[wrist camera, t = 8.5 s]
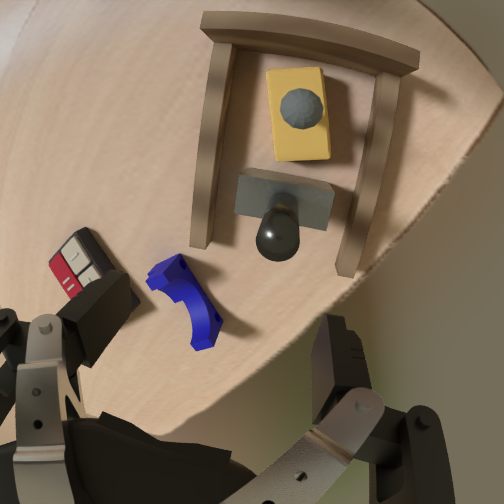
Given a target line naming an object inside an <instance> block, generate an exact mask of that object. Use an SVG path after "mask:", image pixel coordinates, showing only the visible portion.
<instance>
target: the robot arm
mask: <svg viewBox="0 0 504 504" xmlns="http://www.w3.org/2000/svg"><path fill="white" fill-rule="evenodd" d="M131 309H132V300H131V291H130V281H129V276H128V274H127V273H124V272H120V271H116V270H109V271H108V272H107V273H106V274H105V275H104V276H103V277H102V278H101V279H100V278H98V279H96V280H94V281H92V282H90V283H88V284H87V285H86V286H85V287H84V288H83V289H82V290H81V291H80V292H78V293H77V294H76V297H75V296H74V297H73V298H72V299H71V300H70V301H69V302H68V303H67V304H66V305H65V306H64V307H63V308H62V309H61V310H60V311H59V312H58V313H57V314H56V315H53V314H44V315H40V316H38V317H36V318H35V319H34V320H33V321H32V322H24V321H19V320H18V318H17V315H16V312H15V311H14V310H12V309H9V308H4V309H1V310H0V354H1V352H2V353H3V355H4V356H5V358H6V361H5V363H4V364H3V365H2V367H1V368H0V426H1V424H2V423H3V421H4V419H5V418H6V416H7V414H8V413H9V411H10V410H11V408H12V407H13V405H14V404H16V405H15V412H16V413H15V417H16V441H13V442H10V443H7V444H4V445H1V446H0V504H315V503H316V502H317V501H318V500H319V499H320V498H321V496H322V495H323V494H324V493H325V492H326V491H327V490H328V489H329V488H330V487H331V485H332V484H333V483H334V482H335V481H336V480H337V478H338V477H339V476H340V475H341V474H342V473H343V471H344V470H345V469H346V468H347V466H348V465H349V464H350V462H351V461H352V459H353V458H355V459H358V460H362V461H365V462H368V463H369V482H370V483H369V486H370V487H369V497H370V498H369V504H455V496H454V488H453V481H452V475H451V469H450V463H449V458H448V453H447V449H446V443H445V439H444V434H443V430H442V426H441V422H440V419H439V417H438V415H437V414H436V412H435V411H433V410H432V409H431V408H429V407H426V406H422V405H418V406H414V407H412V408H411V409H410V410H409V411H408V412H407V413H405V412H401V411H398V410H395V409H391V408H389V407H386V406H385V405H384V402H383V400H382V398H381V397H380V395H378V394H377V393H376V392H375V391H373V390H372V387H371V382H370V378H369V373H368V368H367V364H366V360H365V355H364V352H363V346H362V342H361V339H360V338H359V337H358V335H357V334H356V333H355V332H354V331H352V330H347V329H346V324H345V319H344V317H343V316H337V315H331V314H324V316H323V318H322V321H321V324H320V327H319V329H318V332H317V335H316V338H315V341H314V344H313V348H312V354H311V364H312V365H311V366H312V424H316V425H317V426H316V427H315V428H314V429H313V430H309V431H308V432H307V433H305V434H304V435H303V436H302V437H301V438H300V439H299V440H298V441H297V442H296V443H295V444H294V445H293V446H292V447H290V448H289V449H288V450H287V451H286V452H285V453H284V454H283V455H282V456H280V457H279V458H278V459H277V460H276V461H275V462H273V464H271V465H270V466H269V467H267V468H266V469H265V470H264V471H263V472H261V473H260V474H259V475H258V476H257V475H256V474H255V473H253V472H252V471H251V470H249V469H248V468H247V467H245V466H244V465H242V464H240V463H238V462H236V461H234V460H232V459H230V457H231V453H232V451H228V450H223V449H219V448H214V447H209V446H205V445H201V444H197V443H196V444H195V443H176V442H164V441H160V440H157V439H156V438H154V437H152V436H151V435H149V434H148V433H146V432H144V431H143V430H141V429H140V428H138V427H137V426H135V425H134V424H132V423H130V422H128V421H125V420H123V419H120V418H118V417H115V416H113V415H110V414H108V413H106V412H102V413H101V415H100V417H99V419H98V418H88V417H87V415H86V411H85V408H84V402H83V395H82V389H81V381H80V373H79V370H78V368H79V366H80V365H81V364H82V365H84V366H87V367H89V368H92V366H93V365H94V364H95V362H96V361H97V359H98V358H99V357H100V355H101V354H102V352H103V351H104V350H105V348H106V347H107V346H108V344H109V343H110V341H111V340H112V339H113V337H114V336H115V335H116V333H117V332H118V331H119V329H120V328H121V327H122V325H123V324H124V323H125V321H126V320H127V319H128V317H129V315H130V313H131ZM15 402H16V403H15Z"/></svg>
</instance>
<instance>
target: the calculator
mask: <svg viewBox="0 0 504 504" xmlns="http://www.w3.org/2000/svg"><path fill="white" fill-rule="evenodd" d="M49 267H50V269H51V270H52V272H53V273H54V275H55V277H56V278H57V280H58V281H59V283H60V284H61V286H62V287H63V289H64V290H65V292H66V293H67V295H68V296H69V298H70V299H72V298H73V297H74V296H75V297H76V294H77V293H78V292H80V291H81V290H82V289H83V288H84V287H85V286H86V285H87V284H88V283H90V282H92V281H94V280H96V279H98V278H100V279H101V278H102V277H103V276H104V275H105V274H106V273H107V272H108V271H109V270H116V269H115V268H114V266H113V265H112V263H111V262H110V261H109V259H108V258H107V256H106V255H105V253H104V252H103V250H102V249H101V247H100V246H99V245H98V243H97V242H96V240H95V239H94V237H93V236H92V234H91V233H90V231H89V230H88V228H87V227H84V228H82V229H80V230H78V231H76V232H74V233H73V234H72V236H71V237H70V238H69V239H68V240H67V241H66V242H65V243H64V244H63V246H62V247H61V248H60V249H59V250H58V251H57V252H56V253H55V255H54V256H53V257H52V258H51V259H50V261H49ZM130 291H131V300H132V309H131V312H132V311H133V310H134V309H135V308H136V307H137V306H138V305H139V304H140V300H139V298H138V297H137V296H136V295H135V293H134V292H133V291H132V289H131V288H130Z"/></svg>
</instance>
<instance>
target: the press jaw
mask: <svg viewBox="0 0 504 504" xmlns="http://www.w3.org/2000/svg"><path fill="white" fill-rule="evenodd" d="M334 196H335V192H334V190H333V189H332V187H331V186H330V184H329V183H327V182H323V181H318V180H313V179H309V178H304V177H299V176H294V175H288V174H283V173H278V172H272V171H266V170H261V169H255V168H246V169H245V170H244V171H243V172H241V173H240V174H239V178H238V185H237V193H236V200H235V207H234V213H235V214H240V215H246V216H251V217H257V218H262V222H261V224H260V227H259V230H258V233H257V236H256V245H257V248H258V250H259V252H260V253H261V254H262V255H263V256H264V257H265V258H267V259H269V260H271V261H276V262H280V261H285V260H288V259H290V258H291V257H293V256H294V255H295V254H296V252H297V250H298V248H299V244H300V237H299V226H304V227H309V228H313V229H318V230H323V231H326V229H327V225H328V221H329V217H330V213H331V209H332V204H333V200H334Z"/></svg>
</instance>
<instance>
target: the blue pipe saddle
mask: <svg viewBox="0 0 504 504" xmlns="http://www.w3.org/2000/svg"><path fill="white" fill-rule="evenodd" d="M148 276H149V278H148V279H147V280H146V283H147V284H148V286H149V287H150V289H151V290H152V291H153V290H155V289H158V290H160V291H162V292H164V293H166V294H167V295H168V296H169V297H170V298H171V299H172V300H173V301H174V303H177V302H179V301H182V300H183V301H184V303H185V305H186V307H187V309H188V311H189V314H190V317H191V321H192V329H193V333H192V340H191V343H190V344H191V345H192V347H193V348H194V349H195V351H199V350H203V349H207V348H211V347H214V345H215V342H216V340H217V337H218V334H219V331H220V328H221V326H222V323H223V320H222V318H221V317H220V315H219V314H218V312H217V311H216V309H215V308H214V306H213V305H212V303H211V302H210V300H209V299H208V297H207V295H206V294H205V292H204V291H203V289H202V288H201V286H200V285H199V283H198V281H197V280H196V278H195V277H194V275H193V274H192V272H191V270H190V269H189V267H188V266H187V264H186V262H185V261H184V259H183V257H182V256H181V254H180V253H179V254H177V255H175V256H173V257H171V258H169V259H167V260H165V261H163V262H161V263H158V264H156V265H155V266H154V267H153V268H152V269H151V271H150V272H149V273H148Z"/></svg>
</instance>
